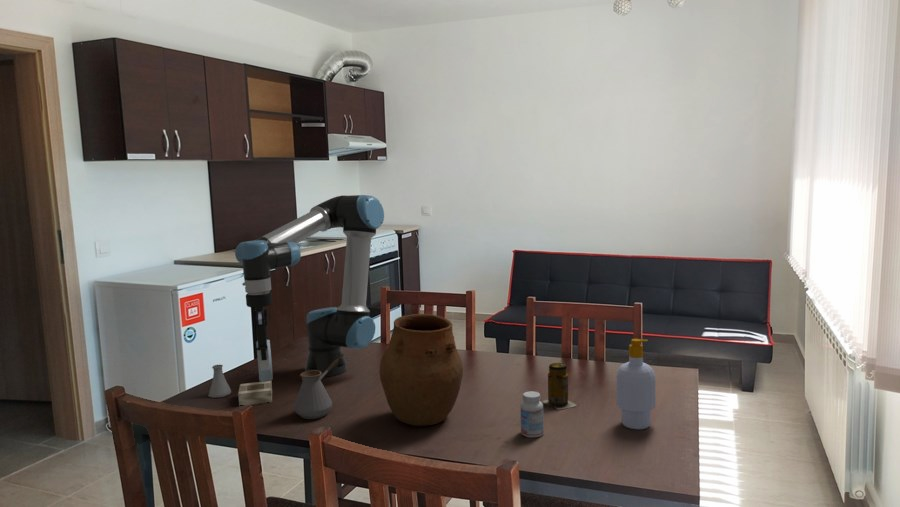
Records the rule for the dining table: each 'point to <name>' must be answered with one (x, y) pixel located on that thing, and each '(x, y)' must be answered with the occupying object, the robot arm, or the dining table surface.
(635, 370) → the soap bottle
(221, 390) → the flask
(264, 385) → the socket block
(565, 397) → the condiment
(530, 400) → the pill bottle
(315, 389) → the coffee pot
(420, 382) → the pot
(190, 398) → the dining table surface
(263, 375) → the peg
